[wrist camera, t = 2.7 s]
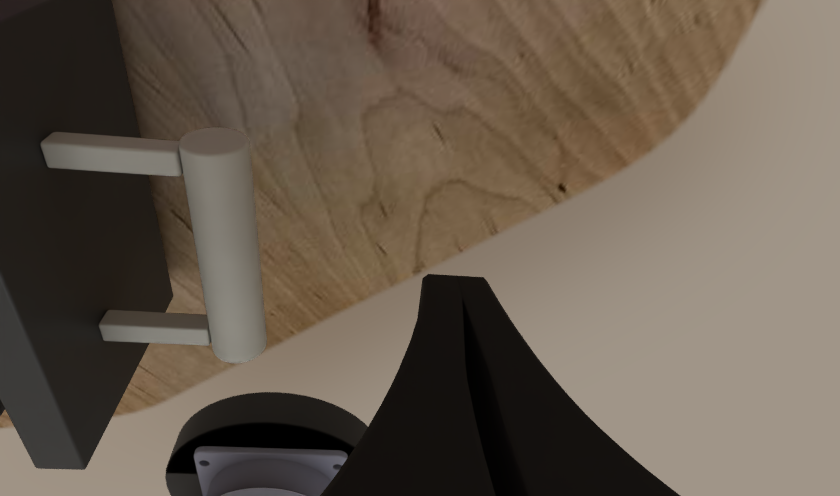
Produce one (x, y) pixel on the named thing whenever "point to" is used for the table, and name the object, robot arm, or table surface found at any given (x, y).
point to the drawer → (103, 231)
